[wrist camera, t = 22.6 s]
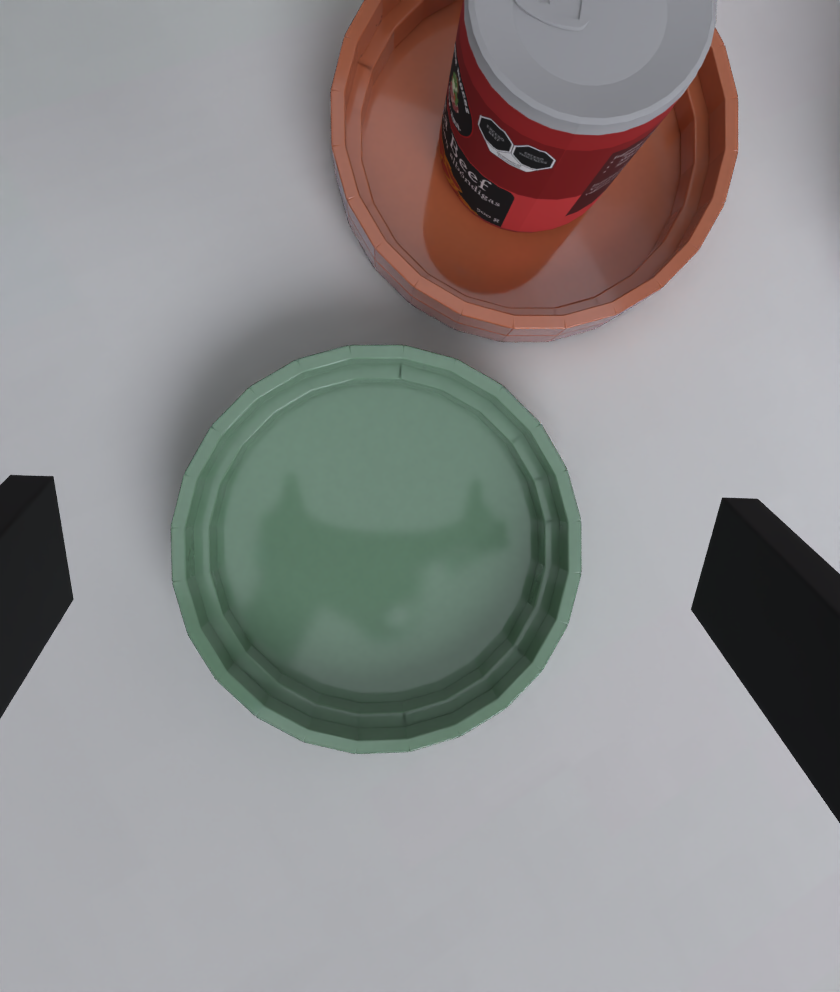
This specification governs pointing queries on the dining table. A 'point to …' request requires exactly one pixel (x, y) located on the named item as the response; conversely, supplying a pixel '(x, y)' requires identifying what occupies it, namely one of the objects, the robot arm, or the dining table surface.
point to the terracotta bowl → (497, 252)
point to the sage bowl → (376, 548)
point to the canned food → (561, 99)
